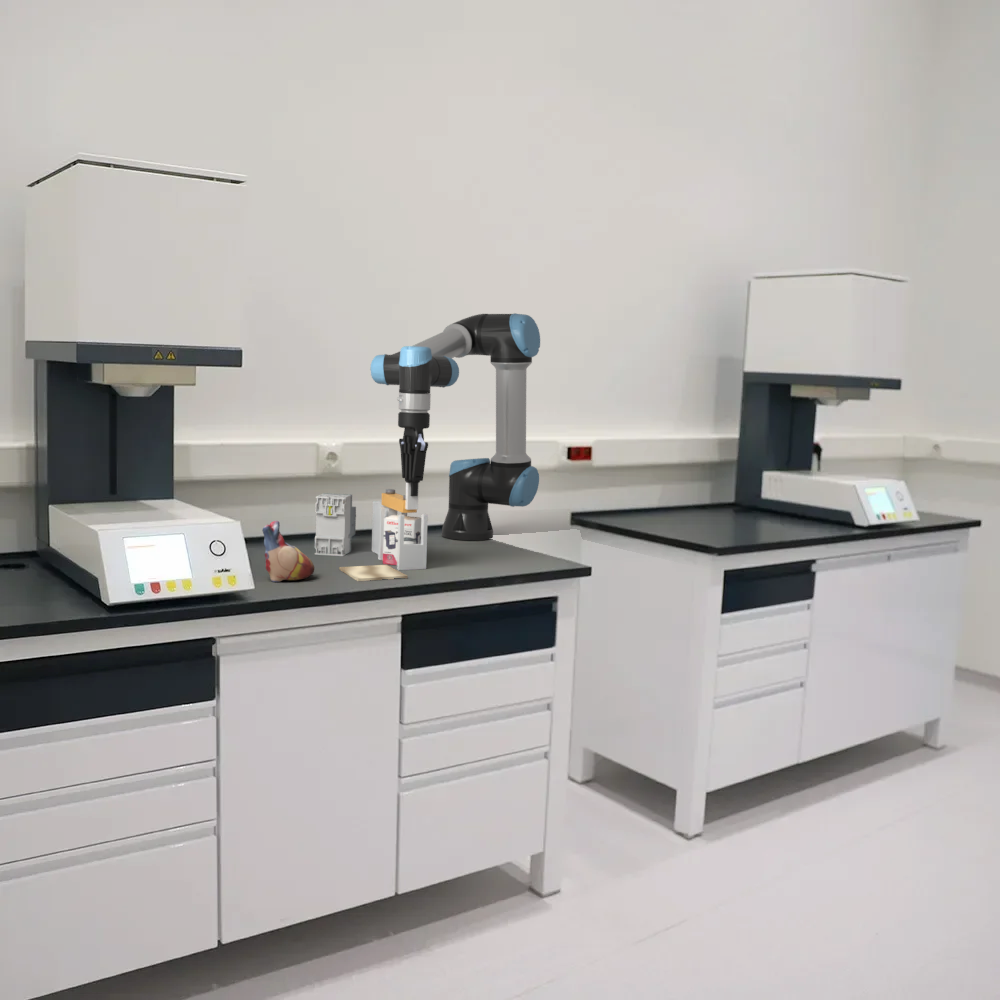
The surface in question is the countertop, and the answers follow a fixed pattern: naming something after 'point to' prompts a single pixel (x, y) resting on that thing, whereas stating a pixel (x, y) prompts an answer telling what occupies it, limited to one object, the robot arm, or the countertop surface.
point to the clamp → (399, 539)
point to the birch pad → (372, 572)
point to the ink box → (391, 536)
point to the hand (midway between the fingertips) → (411, 509)
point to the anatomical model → (284, 557)
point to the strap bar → (395, 501)
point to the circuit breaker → (334, 524)
